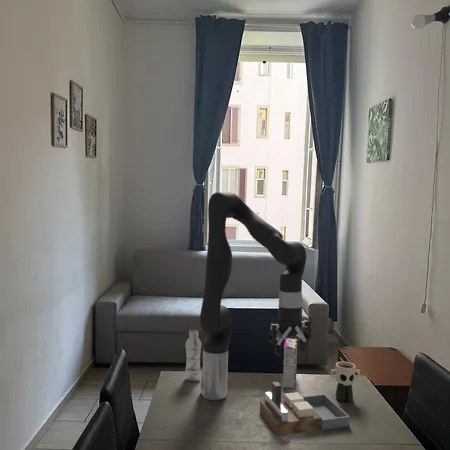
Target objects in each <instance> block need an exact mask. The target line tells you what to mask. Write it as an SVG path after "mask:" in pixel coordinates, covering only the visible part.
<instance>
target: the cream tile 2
mask: <svg viewBox="0 0 450 450" xmlns="http://www.w3.org/2000/svg"><path fill="white" fill-rule="evenodd" d="M313 410H314V408H313V407H312V406H311V405H310V404H309V403H308V402H307V401H304V402H295V403H293V411H294V412H295V413H296V414H297V416H298V417H306V416H313Z"/></svg>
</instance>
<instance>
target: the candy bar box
mask: <svg viewBox="0 0 450 450" xmlns="http://www.w3.org/2000/svg"><path fill="white" fill-rule="evenodd" d="M297 352H298V339H297V338H289V337H286V338H285V339H284V344H283V368H282V370H283V371H282V388H283V389H284V388H285V389H293V390H294V389H295V388H296V381H297V360H298V359H297V357H298V356H297V355H298V353H297Z"/></svg>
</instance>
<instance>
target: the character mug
mask: <svg viewBox="0 0 450 450" xmlns="http://www.w3.org/2000/svg"><path fill="white" fill-rule="evenodd" d="M335 363H336V364H335V368H334V369H333V368H332V369H331V370H330V378H332V379H335V381H336V382H337V386H336V390H335V398H336V399H337V400H338V401H340V402H346V400H347V402H353V400H354V394H353V393H354V392H353V384H354V383H355V381H356V379H360V377H361V369H356V368H357V367H356V364H355V363H353V362H348V361H338V362H335ZM356 373H357V375H356ZM334 374H335V375H334Z"/></svg>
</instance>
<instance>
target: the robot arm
mask: <svg viewBox="0 0 450 450" xmlns="http://www.w3.org/2000/svg"><path fill="white" fill-rule="evenodd" d="M207 214H208V215H207V217H208V219H207V223H208V233H207V234H208V236H207V237H208V238H207V252H206V262H205V278H204V289H203V290H204V291H203V297H202V298H203V299H202V303H201V309H200V315H199V324H200V328H201V330H202V332H204V334H206V335H208V336H207V337H206V338H205V340H204V342H203V345H202V346H203V347H202V367H200V369H201V377H200V394H201V395H202V398H203V400H210V401H220V400H224V399H225V398H227V396H228V371H229V370H228V366H229V365H228V364H229V345H230V344H231V343H230V342H231V340H232V339H231V338H232V337H231V336H232V327H233V324H232V322H233V319H232V314H231V312H230V310H229V308H228V307H227V306H224V305H223V304H222V298H223V294H224V291H225V289H226V287H227V285H228V282H229V280H230V277H231V274H232V269H233V268H232V266H233V253H232V249H231V246H230V243H229V241H228V237H227V234H226V224H227V223H226V222H227V219H234V221H237V222H239V223H240V224H242V225H243V226H244V227H245V228H246V230H247V232H248V233H249V235H250V236H251V237H252V239H254V240H255V241H256V242H258V243H259V245H261V246H263V247H264V248H266V249H267V251H268V253H269V254H271V256H272V257H273V258H274V259H275V260H276V261H277V262H278V263H280V264H281V265H284V266H285V269H284V271H283V272H281V274H280V275H279V294H278V323H270V324H269V331H268V342H270V343H271V344H273V345H274V346H273V347H274V350H273V351H274V354H275V356H277V357H281V356H282V355H281V354H282V345H281V344H282V342H283V341H285V339H286V338H289V337H292V336H293V337H296V336H297V338H298V345H297V352H298V353H301V354H305V351H306V342H307V340H311V338H312V337H311V322H310V320H307V319H303V294H302V293H303V292H302V291H303V290H302V289H303V285H302V283H303V275H304V272H305V267H306V262H307V252H306V248H305V246H304V245H303V244H302V243H301V242H298V241H297V242H296V241H294V242H287V241H285V240H284V236H283V234H282V233H281V232H280V231H279V230H278V229H276V228H275V227H274V226H272V225H271V224H269V223H268V222H267V221H265V220H264V219H263V218H262V217H260V216H259V215H258V214H257V213H255V212H254V211H253V210H252V209H251V208H250V207H249V206H248V204H246V202H245V201H243V199H242V198H241V197H239V195H237V194H236V193H234V192H225V191H223V192H222V191H216V192H214V193H212V194H211V196H210V198H209V199H208V206H207ZM302 319H303V320H302ZM301 328H303V330H302V331H303V332H302V331H301Z"/></svg>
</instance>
